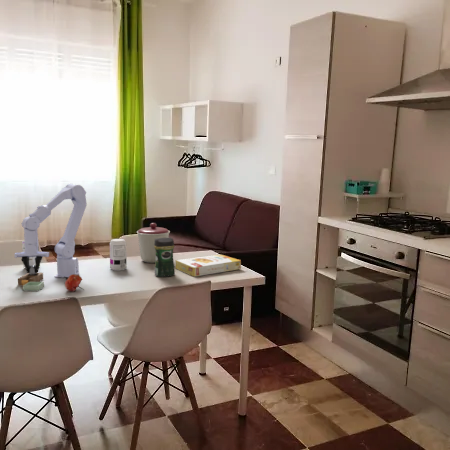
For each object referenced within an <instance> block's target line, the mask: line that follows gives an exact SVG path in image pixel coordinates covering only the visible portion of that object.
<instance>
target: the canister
mask: <svg viewBox="0 0 450 450" xmlns="http://www.w3.org/2000/svg"><path fill="white" fill-rule="evenodd" d="M170 232H171V231H170V230H168V229H167V228H166V227H165V228H164V227H159V226H157V223H156V222H151V223H150V224H149V227H142V228H140V229H138V230H137V231H136V233H137V238H138V247H139V253H140V255H139V256H140V259H141V260H142V261H143V262H145V263H149V264H151V263H153V264H155V259H156V251H155V248H154V243H155V239H156V238H170V237H169V236H170V235H169V234H171V233H170Z"/></svg>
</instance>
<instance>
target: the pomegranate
mask: <svg viewBox="0 0 450 450" xmlns="http://www.w3.org/2000/svg"><path fill="white" fill-rule="evenodd" d="M63 279H65V282H64V287H65V289H66V290H67V291H68V292H70V293H71V292H72V293H73V292H76V290H77V288H79V289H81V290H83V291H85V289H84V288H82V287H80V284H81V283H82V280H83V278H82V277H81V276H80V275H79V274H78V275H76V274H73V275H70V276H69V277H63Z"/></svg>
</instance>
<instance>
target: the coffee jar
mask: <svg viewBox="0 0 450 450" xmlns="http://www.w3.org/2000/svg"><path fill="white" fill-rule="evenodd" d="M154 248H155V251H156V259H155V263H154V272H153V273H154V276H155V277H160V278H164V277H165V278H167V277H171V276H172V277H173V276H174V275H175V274H176V273H175V272H176V271H175V261H174V249H175V240H174V239H173V238H172V237H168V238H156V239H155V243H154Z"/></svg>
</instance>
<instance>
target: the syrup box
mask: <svg viewBox="0 0 450 450" xmlns="http://www.w3.org/2000/svg"><path fill="white" fill-rule="evenodd" d="M39 243H40V242H39V241H38V251H39V252H40V245H39ZM21 246H22V248H21V249H22V252H25V242H24V240H22V241H21ZM35 258H36V257H29V266H30V265H36V263H35ZM22 263H23V262H22ZM39 266H40V267H41V264H40V265H39ZM24 267H25V265H24V263H23V268H24Z"/></svg>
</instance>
